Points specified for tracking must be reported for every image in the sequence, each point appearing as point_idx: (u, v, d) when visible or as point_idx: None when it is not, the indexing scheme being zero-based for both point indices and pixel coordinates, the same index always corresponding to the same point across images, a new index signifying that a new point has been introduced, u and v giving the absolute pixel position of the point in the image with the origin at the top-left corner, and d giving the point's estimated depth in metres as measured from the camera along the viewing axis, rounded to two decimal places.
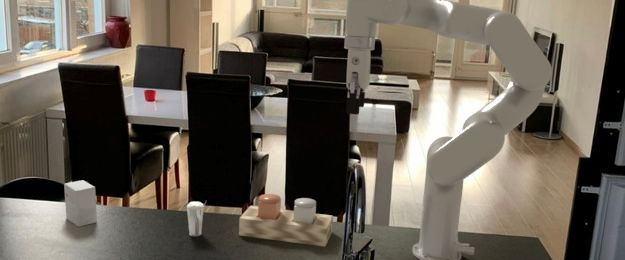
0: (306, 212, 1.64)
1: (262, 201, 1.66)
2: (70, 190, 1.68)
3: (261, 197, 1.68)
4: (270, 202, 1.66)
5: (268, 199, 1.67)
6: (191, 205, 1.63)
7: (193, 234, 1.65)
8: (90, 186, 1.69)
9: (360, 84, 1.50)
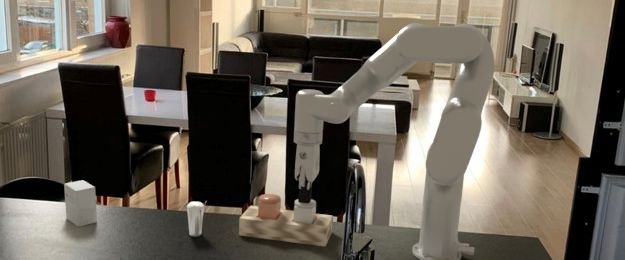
0: (306, 212, 1.64)
1: (262, 201, 1.66)
2: (70, 190, 1.68)
3: (261, 197, 1.68)
4: (270, 202, 1.66)
5: (268, 199, 1.67)
6: (191, 205, 1.63)
7: (193, 234, 1.65)
8: (90, 186, 1.69)
9: (307, 177, 1.59)
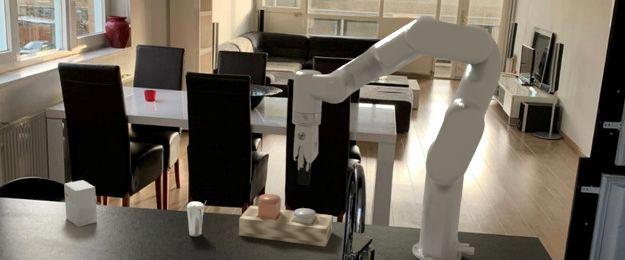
0: (306, 222, 1.65)
1: (262, 201, 1.66)
2: (70, 190, 1.68)
3: (261, 197, 1.68)
4: (270, 202, 1.66)
5: (268, 199, 1.67)
6: (191, 205, 1.63)
7: (193, 234, 1.65)
8: (90, 186, 1.69)
9: (306, 158, 1.58)
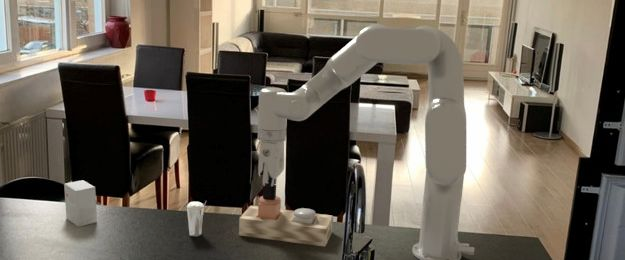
0: (306, 222, 1.65)
1: (262, 202, 1.66)
2: (70, 190, 1.68)
3: (261, 198, 1.68)
4: (270, 203, 1.66)
5: (268, 200, 1.67)
6: (191, 205, 1.63)
7: (193, 234, 1.65)
8: (90, 186, 1.69)
9: (270, 174, 1.61)
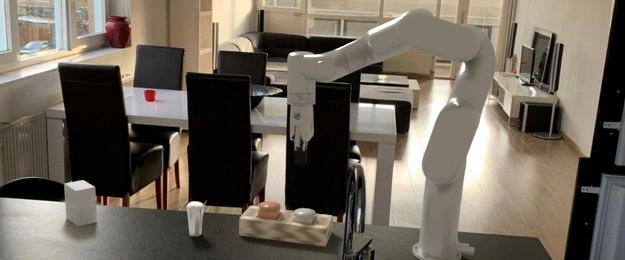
0: (306, 222, 1.65)
1: (262, 209, 1.67)
2: (70, 190, 1.68)
3: (261, 204, 1.69)
4: (270, 210, 1.66)
5: (268, 207, 1.67)
6: (191, 205, 1.63)
7: (193, 234, 1.65)
8: (90, 186, 1.69)
9: (302, 137, 1.62)
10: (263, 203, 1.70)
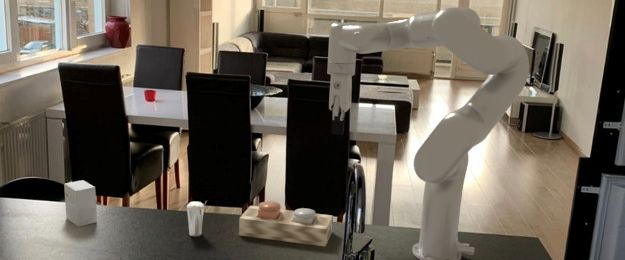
0: (306, 222, 1.65)
1: (262, 209, 1.67)
2: (70, 190, 1.68)
3: (261, 204, 1.69)
4: (270, 210, 1.66)
5: (268, 207, 1.67)
6: (191, 205, 1.63)
7: (193, 234, 1.65)
8: (90, 186, 1.69)
9: (341, 106, 1.65)
10: (263, 203, 1.70)
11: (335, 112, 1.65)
